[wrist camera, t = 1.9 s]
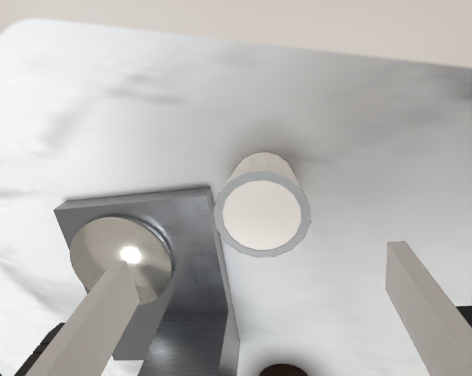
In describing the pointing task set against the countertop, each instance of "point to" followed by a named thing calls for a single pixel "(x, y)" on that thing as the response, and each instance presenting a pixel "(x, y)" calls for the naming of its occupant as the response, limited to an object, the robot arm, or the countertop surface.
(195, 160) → the countertop surface
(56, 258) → the countertop surface
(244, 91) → the countertop surface
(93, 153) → the countertop surface
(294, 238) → the white tapered cup
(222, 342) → the press
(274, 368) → the coffee mug
